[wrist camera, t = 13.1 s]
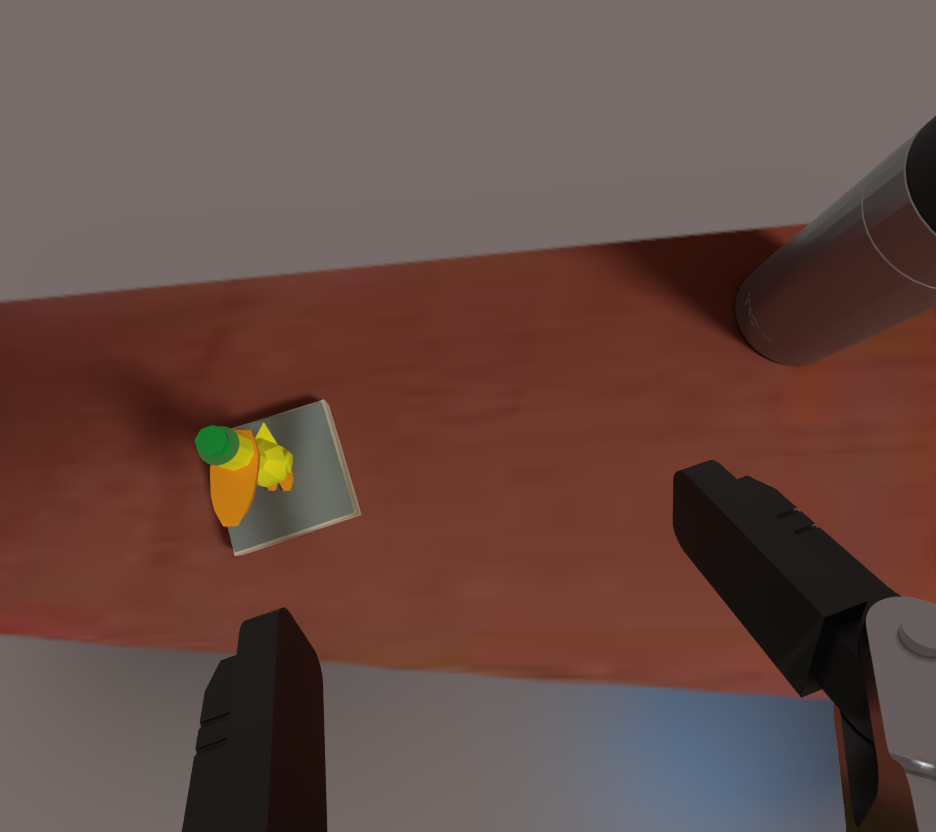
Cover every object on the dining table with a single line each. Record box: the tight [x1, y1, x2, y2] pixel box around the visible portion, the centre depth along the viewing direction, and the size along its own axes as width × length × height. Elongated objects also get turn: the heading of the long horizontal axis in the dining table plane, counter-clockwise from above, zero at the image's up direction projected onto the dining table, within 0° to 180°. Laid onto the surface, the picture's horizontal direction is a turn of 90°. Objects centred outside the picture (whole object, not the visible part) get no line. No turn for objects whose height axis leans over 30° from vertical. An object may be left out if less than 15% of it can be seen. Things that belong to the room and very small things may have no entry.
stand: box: [227, 400, 361, 556], centre depth 40 cm, size 9×9×2 cm
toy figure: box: [195, 423, 293, 526], centre depth 33 cm, size 7×4×12 cm, turn 1°
